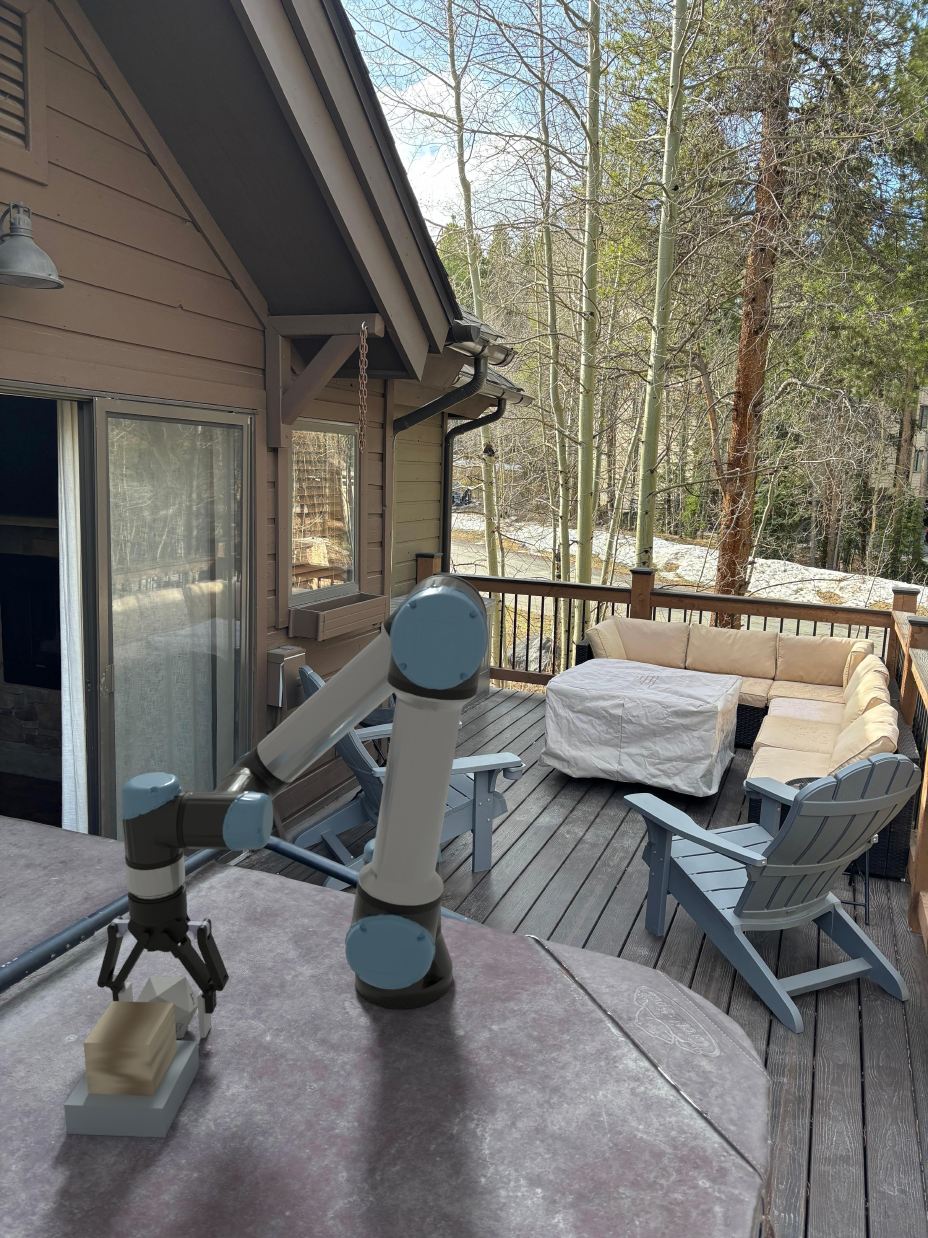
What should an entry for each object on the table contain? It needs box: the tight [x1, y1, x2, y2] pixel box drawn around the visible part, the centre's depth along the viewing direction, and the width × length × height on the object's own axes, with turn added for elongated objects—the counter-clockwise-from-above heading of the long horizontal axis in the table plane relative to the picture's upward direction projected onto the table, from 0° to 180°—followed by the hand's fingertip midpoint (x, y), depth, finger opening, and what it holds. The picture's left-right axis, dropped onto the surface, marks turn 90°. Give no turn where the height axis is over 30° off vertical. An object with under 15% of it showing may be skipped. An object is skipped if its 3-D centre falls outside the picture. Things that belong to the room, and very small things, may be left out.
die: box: [135, 976, 198, 1040], centre depth 123 cm, size 8×9×10 cm
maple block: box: [83, 1000, 177, 1096], centre depth 109 cm, size 8×8×7 cm
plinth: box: [63, 1039, 200, 1139], centre depth 110 cm, size 12×12×4 cm
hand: (167, 1030), depth 123 cm, fingers open, 10 cm apart
